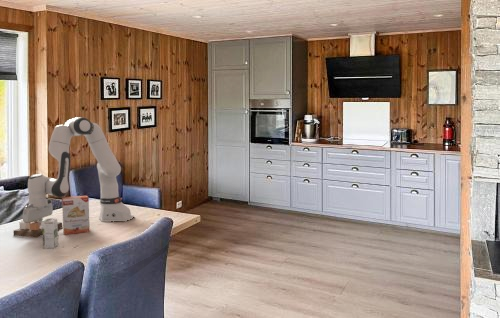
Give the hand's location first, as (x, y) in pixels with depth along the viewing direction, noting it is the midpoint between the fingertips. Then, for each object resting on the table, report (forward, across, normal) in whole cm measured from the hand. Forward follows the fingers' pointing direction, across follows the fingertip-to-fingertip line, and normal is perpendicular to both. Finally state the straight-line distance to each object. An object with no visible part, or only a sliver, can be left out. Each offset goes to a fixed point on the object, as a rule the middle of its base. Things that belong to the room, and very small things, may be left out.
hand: (38, 226), depth 251 cm
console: (+4, +4, +3) cm, 7 cm away
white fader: (+1, -3, +7) cm, 8 cm away
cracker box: (+4, +8, -19) cm, 21 cm away
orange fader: (+1, -3, 0) cm, 3 cm away
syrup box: (+4, -19, -23) cm, 30 cm away
